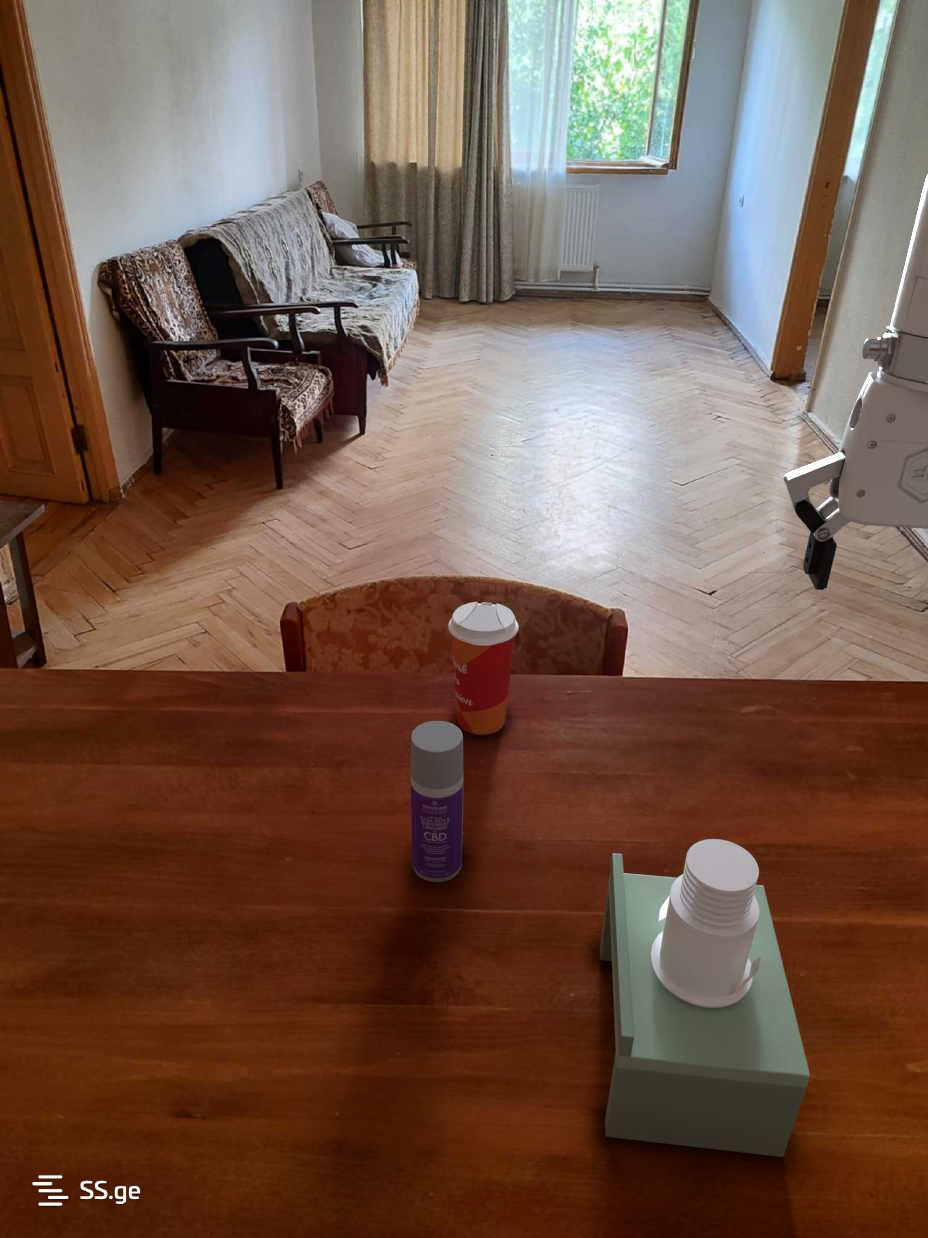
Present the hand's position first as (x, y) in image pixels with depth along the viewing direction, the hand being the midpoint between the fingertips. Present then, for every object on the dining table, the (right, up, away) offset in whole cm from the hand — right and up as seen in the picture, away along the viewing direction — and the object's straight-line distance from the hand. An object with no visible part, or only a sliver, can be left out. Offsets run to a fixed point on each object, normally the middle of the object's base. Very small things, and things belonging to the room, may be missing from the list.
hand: (880, 585), depth 68 cm
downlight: (-15, -27, -5) cm, 32 cm away
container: (-34, -26, +16) cm, 46 cm away
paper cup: (-30, -15, +35) cm, 49 cm away
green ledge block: (-15, -35, 0) cm, 38 cm away
